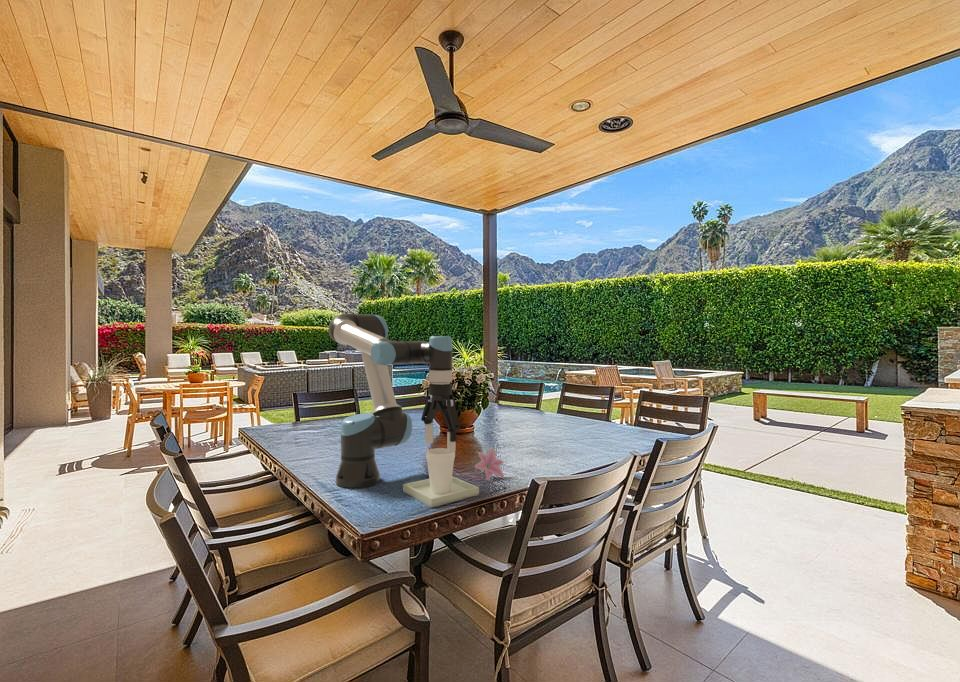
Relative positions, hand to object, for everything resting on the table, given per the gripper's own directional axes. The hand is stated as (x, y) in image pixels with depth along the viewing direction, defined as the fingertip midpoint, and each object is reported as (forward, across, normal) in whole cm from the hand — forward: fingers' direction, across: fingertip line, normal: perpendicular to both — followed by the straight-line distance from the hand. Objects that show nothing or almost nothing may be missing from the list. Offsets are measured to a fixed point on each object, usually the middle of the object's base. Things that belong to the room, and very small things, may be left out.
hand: (439, 447), depth 151 cm
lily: (+16, +4, -24) cm, 29 cm away
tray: (+15, -1, 0) cm, 15 cm away
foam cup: (+15, -1, 0) cm, 15 cm away
